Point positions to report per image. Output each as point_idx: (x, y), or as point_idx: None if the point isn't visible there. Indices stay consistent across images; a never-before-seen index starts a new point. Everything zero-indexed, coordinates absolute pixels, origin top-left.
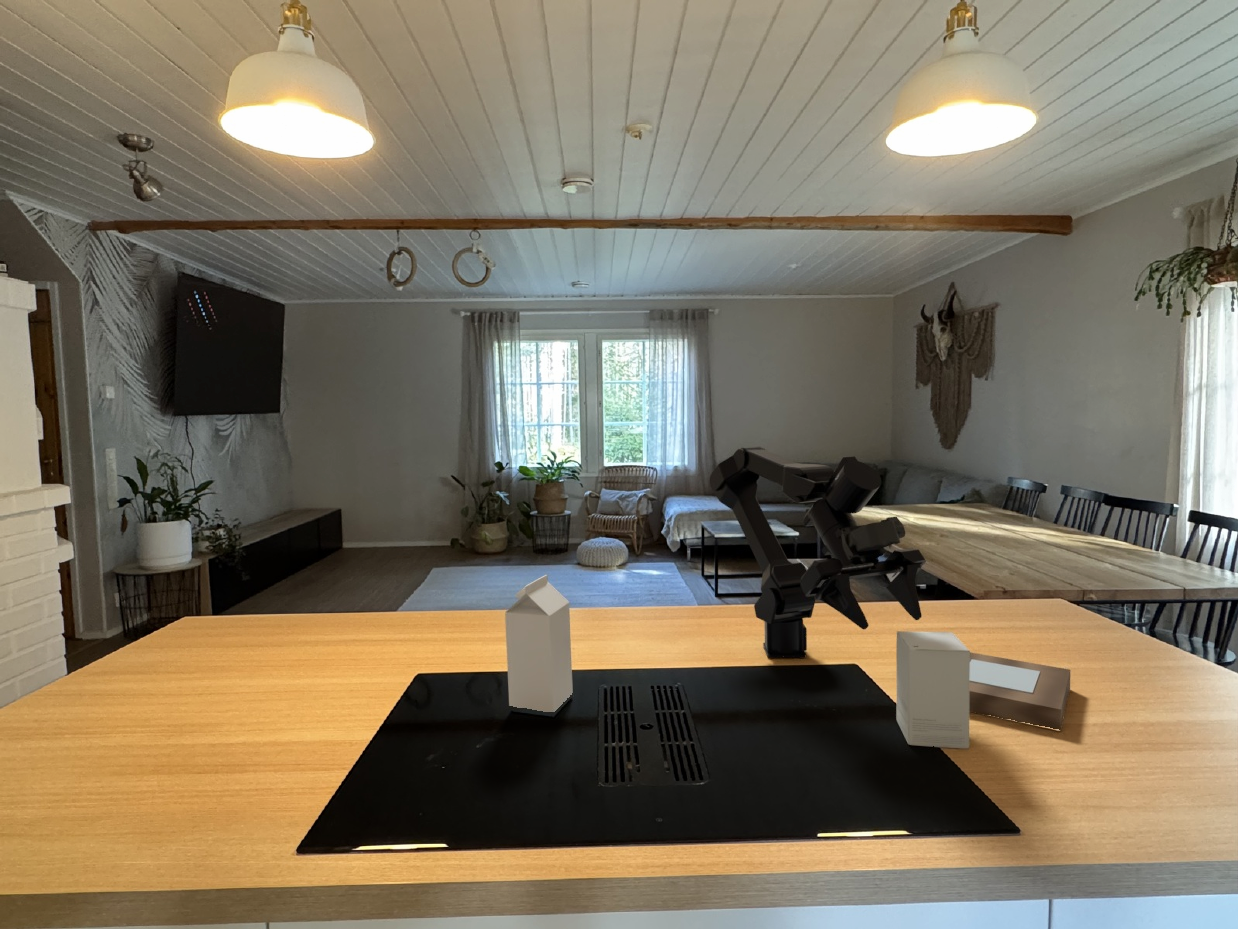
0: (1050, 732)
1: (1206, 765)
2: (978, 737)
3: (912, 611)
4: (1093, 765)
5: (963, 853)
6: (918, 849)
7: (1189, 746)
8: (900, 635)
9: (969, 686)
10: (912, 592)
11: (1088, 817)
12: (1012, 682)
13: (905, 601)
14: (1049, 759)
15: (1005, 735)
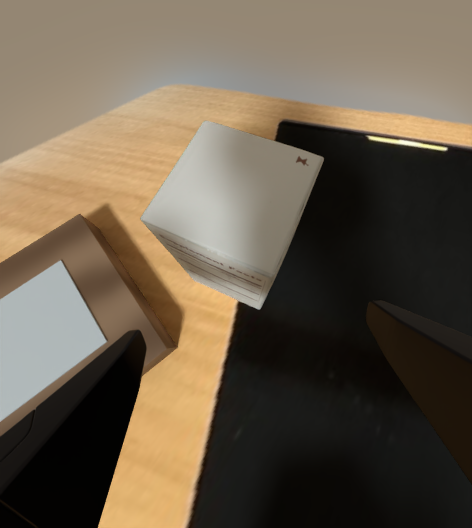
0: (108, 231)
1: (49, 151)
2: None
3: (133, 368)
4: (136, 172)
5: (339, 112)
6: (370, 121)
7: (19, 176)
8: (286, 242)
9: (118, 310)
10: (55, 413)
11: None
12: (47, 299)
13: (107, 432)
14: None
15: None
